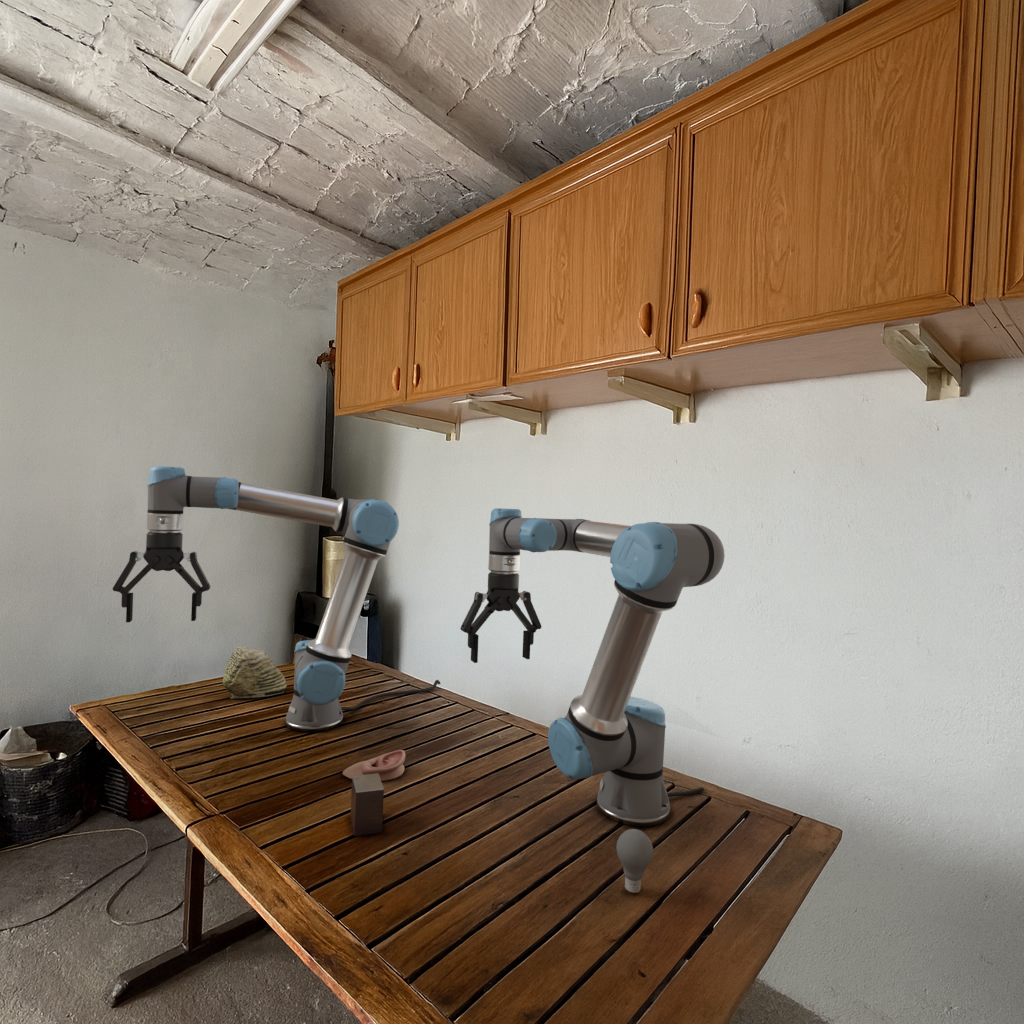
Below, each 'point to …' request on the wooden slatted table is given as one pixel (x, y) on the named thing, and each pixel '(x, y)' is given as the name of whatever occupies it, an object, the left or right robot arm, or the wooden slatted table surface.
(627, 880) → the light bulb
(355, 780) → the block
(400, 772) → the anatomical model
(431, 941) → the wooden slatted table surface
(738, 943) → the wooden slatted table surface
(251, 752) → the wooden slatted table surface
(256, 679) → the fossil
